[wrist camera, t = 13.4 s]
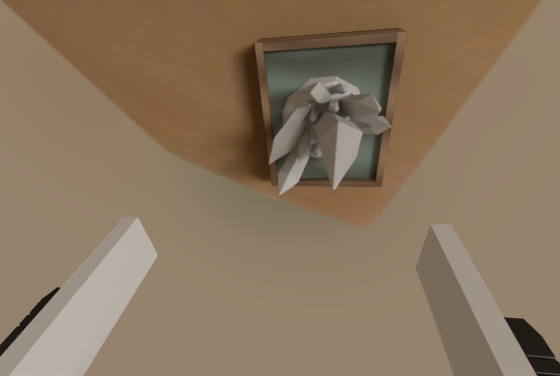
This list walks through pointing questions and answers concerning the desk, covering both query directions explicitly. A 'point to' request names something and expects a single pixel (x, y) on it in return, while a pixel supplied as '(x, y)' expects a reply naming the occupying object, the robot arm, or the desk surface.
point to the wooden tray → (347, 66)
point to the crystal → (324, 128)
